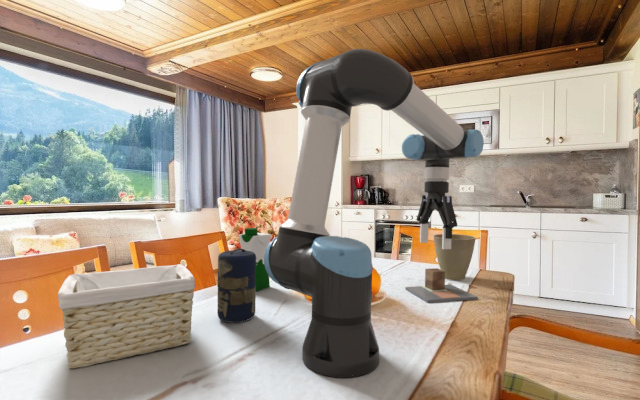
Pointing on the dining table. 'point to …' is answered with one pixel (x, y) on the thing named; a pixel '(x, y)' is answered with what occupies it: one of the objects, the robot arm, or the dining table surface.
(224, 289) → the canister
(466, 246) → the plant pot
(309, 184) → the robot arm
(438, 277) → the brown wooden block
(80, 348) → the storage basket
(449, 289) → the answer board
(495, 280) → the dining table surface
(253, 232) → the milk carton
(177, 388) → the dining table surface
